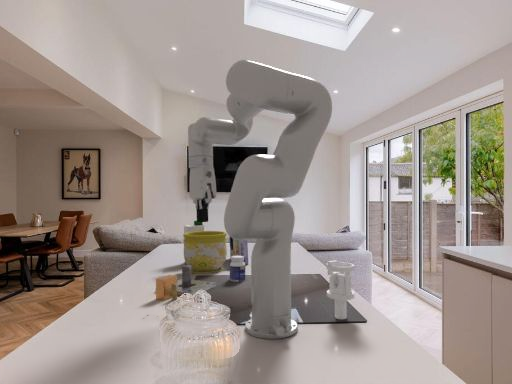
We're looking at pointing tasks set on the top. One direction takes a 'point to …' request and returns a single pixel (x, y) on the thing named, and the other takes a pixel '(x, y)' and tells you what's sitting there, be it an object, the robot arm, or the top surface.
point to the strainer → (340, 286)
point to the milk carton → (193, 228)
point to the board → (183, 280)
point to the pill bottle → (237, 269)
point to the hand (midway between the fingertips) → (202, 221)
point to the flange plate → (178, 286)
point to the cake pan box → (239, 249)
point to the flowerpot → (205, 251)
